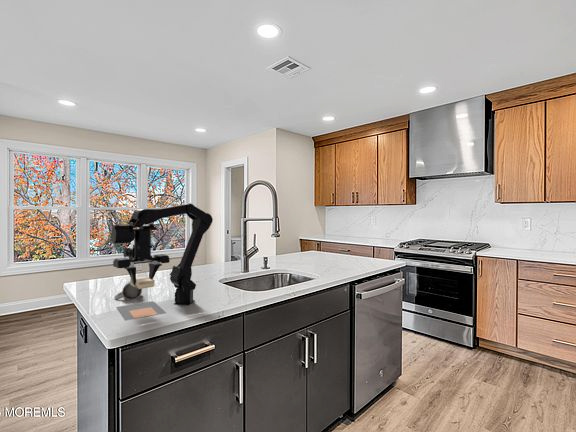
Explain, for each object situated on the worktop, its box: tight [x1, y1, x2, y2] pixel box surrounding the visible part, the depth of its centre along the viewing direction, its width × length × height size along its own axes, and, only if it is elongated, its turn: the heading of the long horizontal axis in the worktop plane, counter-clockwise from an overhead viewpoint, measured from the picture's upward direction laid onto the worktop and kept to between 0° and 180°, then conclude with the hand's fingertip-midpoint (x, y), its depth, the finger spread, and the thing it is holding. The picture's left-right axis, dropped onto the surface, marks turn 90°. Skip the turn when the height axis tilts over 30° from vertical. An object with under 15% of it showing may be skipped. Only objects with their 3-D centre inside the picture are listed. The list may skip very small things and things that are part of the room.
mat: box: [115, 300, 167, 322], centre depth 120 cm, size 14×18×1 cm
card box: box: [129, 276, 155, 290], centre depth 118 cm, size 8×6×2 cm, turn 47°
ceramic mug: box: [114, 280, 143, 301], centre depth 136 cm, size 11×8×8 cm
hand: (142, 283), depth 118 cm, fingers closed on card box, 5 cm apart
